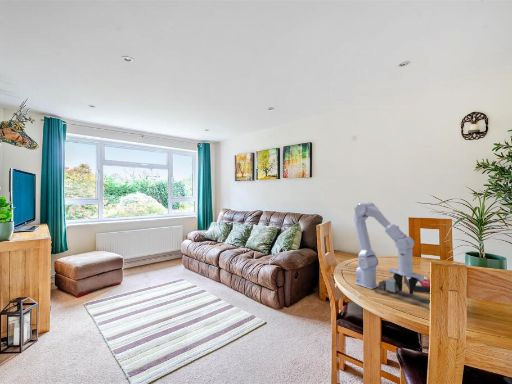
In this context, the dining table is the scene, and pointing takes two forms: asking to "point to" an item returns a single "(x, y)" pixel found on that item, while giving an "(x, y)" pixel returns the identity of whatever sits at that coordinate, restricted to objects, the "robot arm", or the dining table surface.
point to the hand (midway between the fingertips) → (405, 292)
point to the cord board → (403, 296)
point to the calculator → (419, 285)
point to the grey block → (391, 285)
